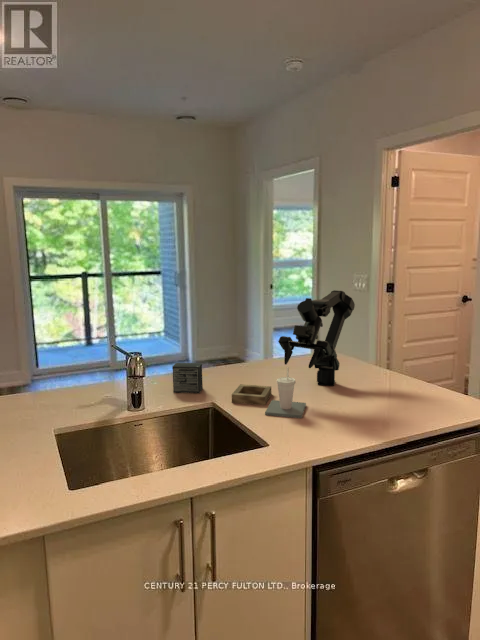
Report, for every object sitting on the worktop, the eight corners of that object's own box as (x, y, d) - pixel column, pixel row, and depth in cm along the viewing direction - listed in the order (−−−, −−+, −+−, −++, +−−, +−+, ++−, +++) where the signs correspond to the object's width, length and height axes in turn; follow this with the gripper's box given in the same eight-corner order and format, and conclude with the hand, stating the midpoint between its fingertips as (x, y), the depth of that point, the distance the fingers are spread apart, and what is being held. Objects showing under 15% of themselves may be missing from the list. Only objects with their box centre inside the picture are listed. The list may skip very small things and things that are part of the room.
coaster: (305, 405, 161) (305, 402, 160) (301, 418, 149) (301, 415, 149) (272, 402, 164) (272, 400, 163) (265, 415, 152) (265, 412, 152)
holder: (271, 394, 173) (271, 386, 172) (264, 405, 161) (264, 397, 161) (240, 391, 176) (240, 384, 175) (231, 402, 164) (231, 394, 164)
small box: (203, 388, 181) (202, 362, 179) (200, 393, 174) (199, 366, 172) (176, 387, 182) (175, 361, 180) (172, 393, 175) (171, 366, 173)
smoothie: (294, 411, 153) (295, 370, 150) (275, 410, 154) (275, 369, 151) (295, 404, 159) (296, 365, 156) (277, 403, 160) (277, 364, 157)
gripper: (280, 314, 167) (265, 350, 160) (329, 318, 157) (315, 356, 150) (290, 331, 175) (276, 366, 168) (337, 337, 165) (324, 374, 158)
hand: (297, 365), depth 161 cm, fingers open, 9 cm apart
